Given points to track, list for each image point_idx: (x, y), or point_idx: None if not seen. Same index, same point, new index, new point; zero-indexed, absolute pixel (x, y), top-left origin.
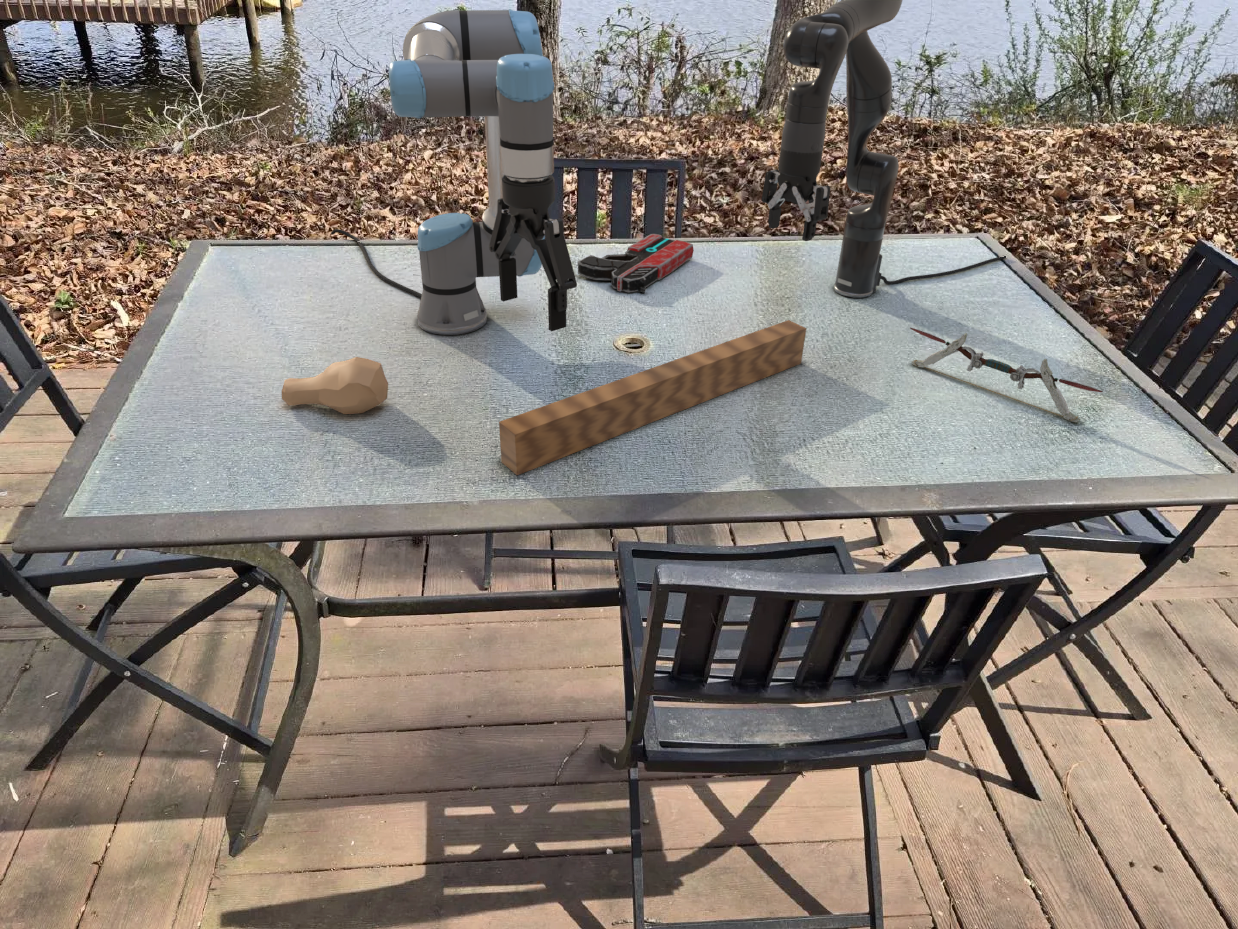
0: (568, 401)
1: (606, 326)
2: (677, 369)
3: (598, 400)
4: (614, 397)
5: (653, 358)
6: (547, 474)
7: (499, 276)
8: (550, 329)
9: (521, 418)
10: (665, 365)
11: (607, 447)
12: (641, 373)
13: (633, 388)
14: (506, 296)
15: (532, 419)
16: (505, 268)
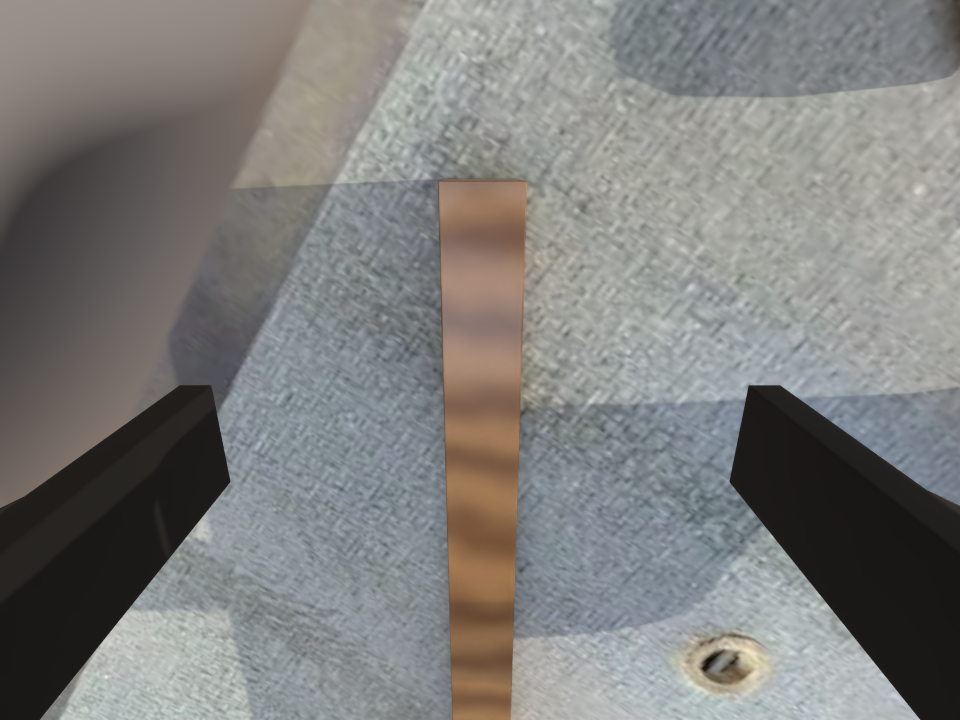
0: (501, 397)
1: (824, 671)
2: (472, 661)
3: (459, 457)
4: (449, 493)
5: (650, 660)
6: (412, 241)
7: (910, 479)
8: (186, 388)
9: (502, 246)
10: (503, 653)
11: (428, 404)
12: (506, 599)
13: (458, 548)
14: (758, 423)
15: (478, 268)
16: (921, 576)
